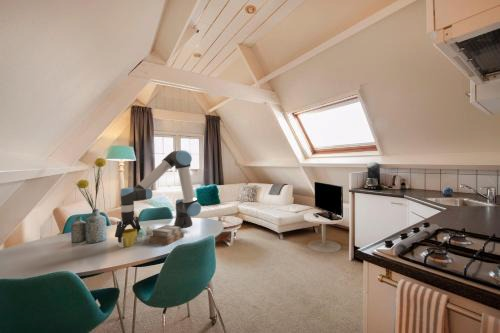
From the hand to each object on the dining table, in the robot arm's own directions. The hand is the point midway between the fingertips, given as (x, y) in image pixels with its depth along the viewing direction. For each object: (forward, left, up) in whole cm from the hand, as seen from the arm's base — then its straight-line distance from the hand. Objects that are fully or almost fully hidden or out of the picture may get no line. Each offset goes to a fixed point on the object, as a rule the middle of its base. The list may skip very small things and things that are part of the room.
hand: (128, 243), depth 148 cm
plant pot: (0, 0, -1) cm, 1 cm away
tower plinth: (-17, +17, -1) cm, 24 cm away
